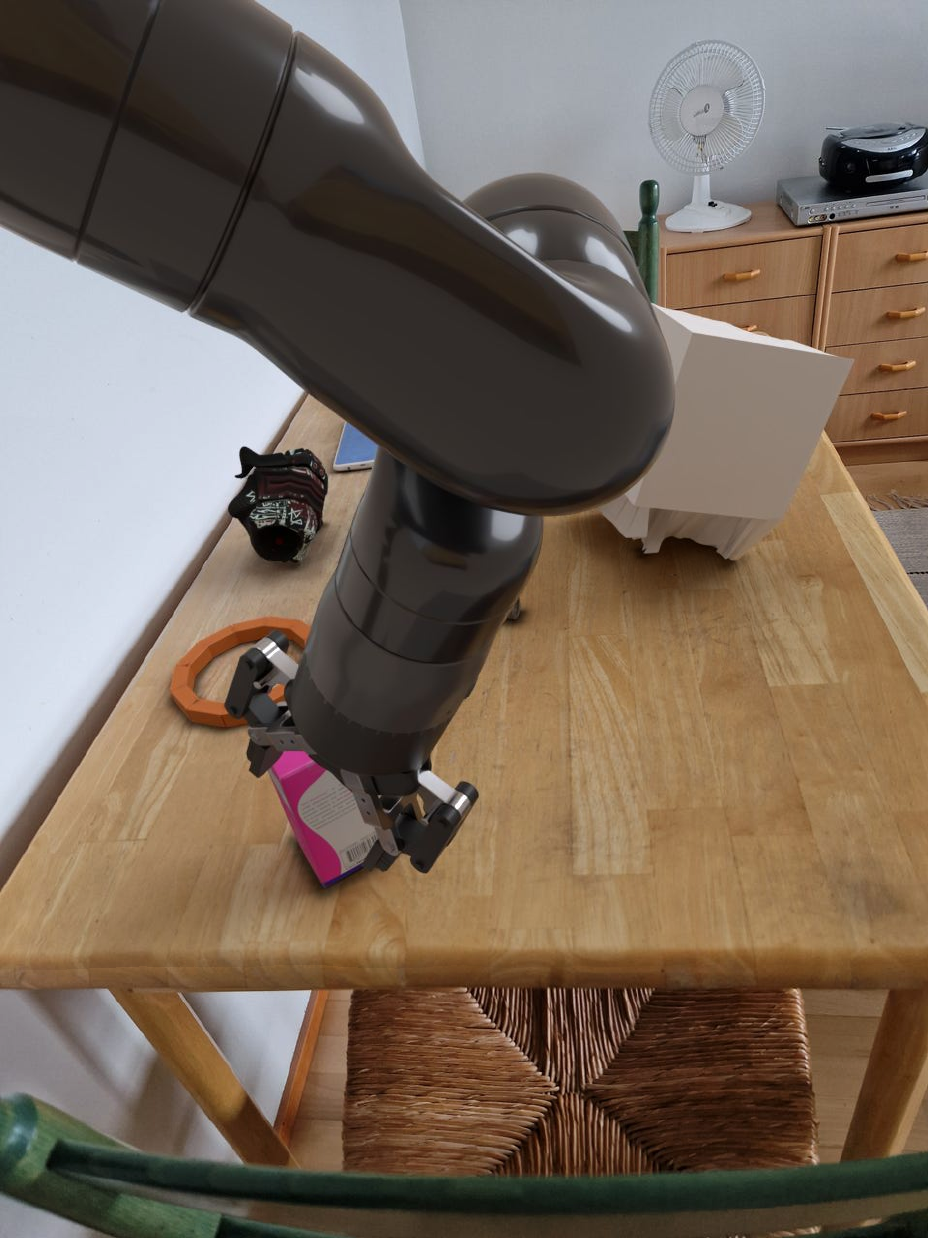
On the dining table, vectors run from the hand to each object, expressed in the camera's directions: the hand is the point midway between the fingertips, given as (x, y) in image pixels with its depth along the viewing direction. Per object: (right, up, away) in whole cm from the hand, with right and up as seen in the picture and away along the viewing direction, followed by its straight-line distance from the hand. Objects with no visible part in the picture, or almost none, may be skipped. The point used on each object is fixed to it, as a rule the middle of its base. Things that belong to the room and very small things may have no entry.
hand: (319, 811), depth 49 cm
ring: (-13, +6, +34) cm, 36 cm away
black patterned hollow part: (-11, +19, +53) cm, 57 cm away
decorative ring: (+13, +11, +35) cm, 39 cm away
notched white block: (+32, +20, +42) cm, 57 cm away
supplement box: (-1, -6, +14) cm, 16 cm away
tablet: (-4, +38, +77) cm, 86 cm away
